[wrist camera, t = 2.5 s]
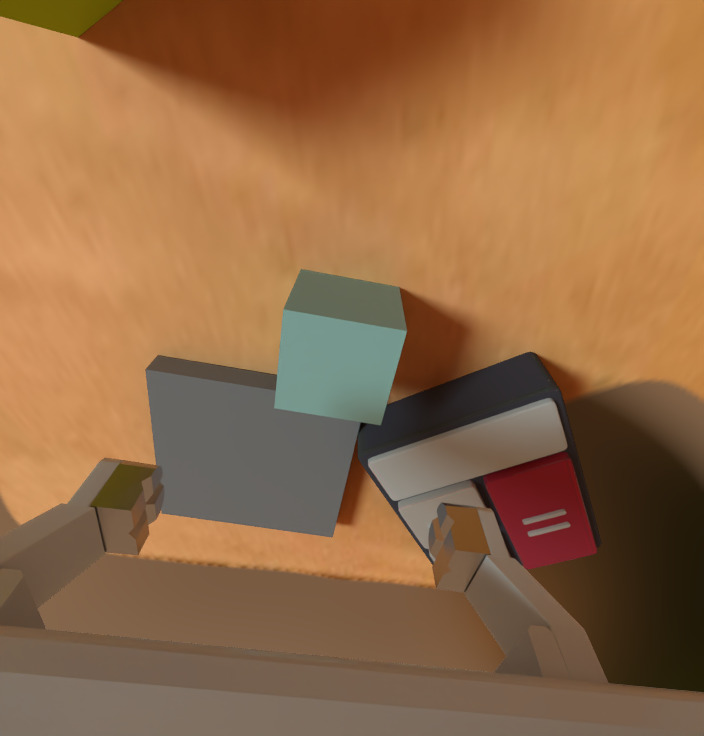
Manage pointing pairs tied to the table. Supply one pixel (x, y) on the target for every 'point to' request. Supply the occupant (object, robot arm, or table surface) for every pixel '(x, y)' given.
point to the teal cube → (339, 347)
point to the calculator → (487, 460)
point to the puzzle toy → (58, 13)
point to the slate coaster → (244, 450)
